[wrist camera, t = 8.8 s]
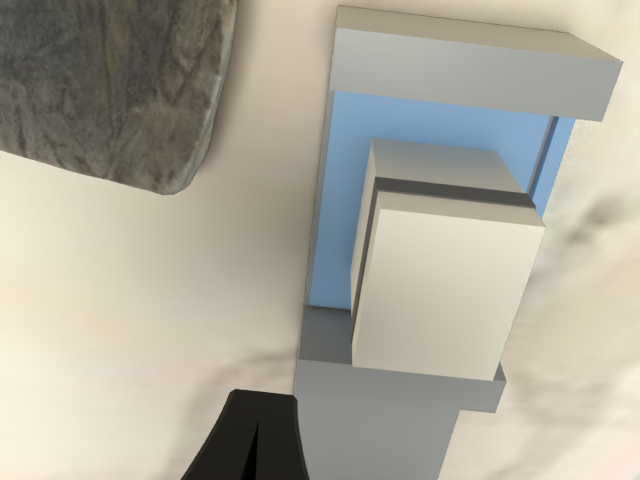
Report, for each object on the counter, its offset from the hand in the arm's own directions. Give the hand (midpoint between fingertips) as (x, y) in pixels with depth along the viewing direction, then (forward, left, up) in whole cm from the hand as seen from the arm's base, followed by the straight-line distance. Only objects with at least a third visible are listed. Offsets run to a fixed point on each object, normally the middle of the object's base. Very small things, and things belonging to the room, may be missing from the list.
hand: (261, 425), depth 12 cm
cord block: (+1, -4, -9) cm, 10 cm away
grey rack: (-4, -4, -10) cm, 11 cm away
